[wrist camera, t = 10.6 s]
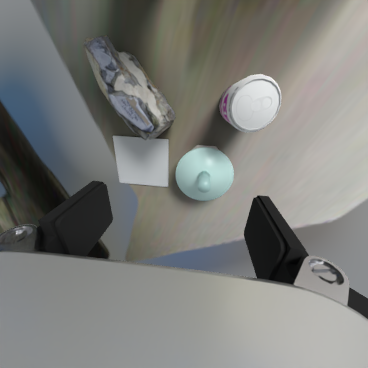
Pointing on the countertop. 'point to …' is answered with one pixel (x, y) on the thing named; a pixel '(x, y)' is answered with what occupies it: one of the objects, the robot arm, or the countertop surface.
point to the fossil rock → (129, 89)
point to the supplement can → (251, 103)
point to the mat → (142, 160)
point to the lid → (204, 173)
